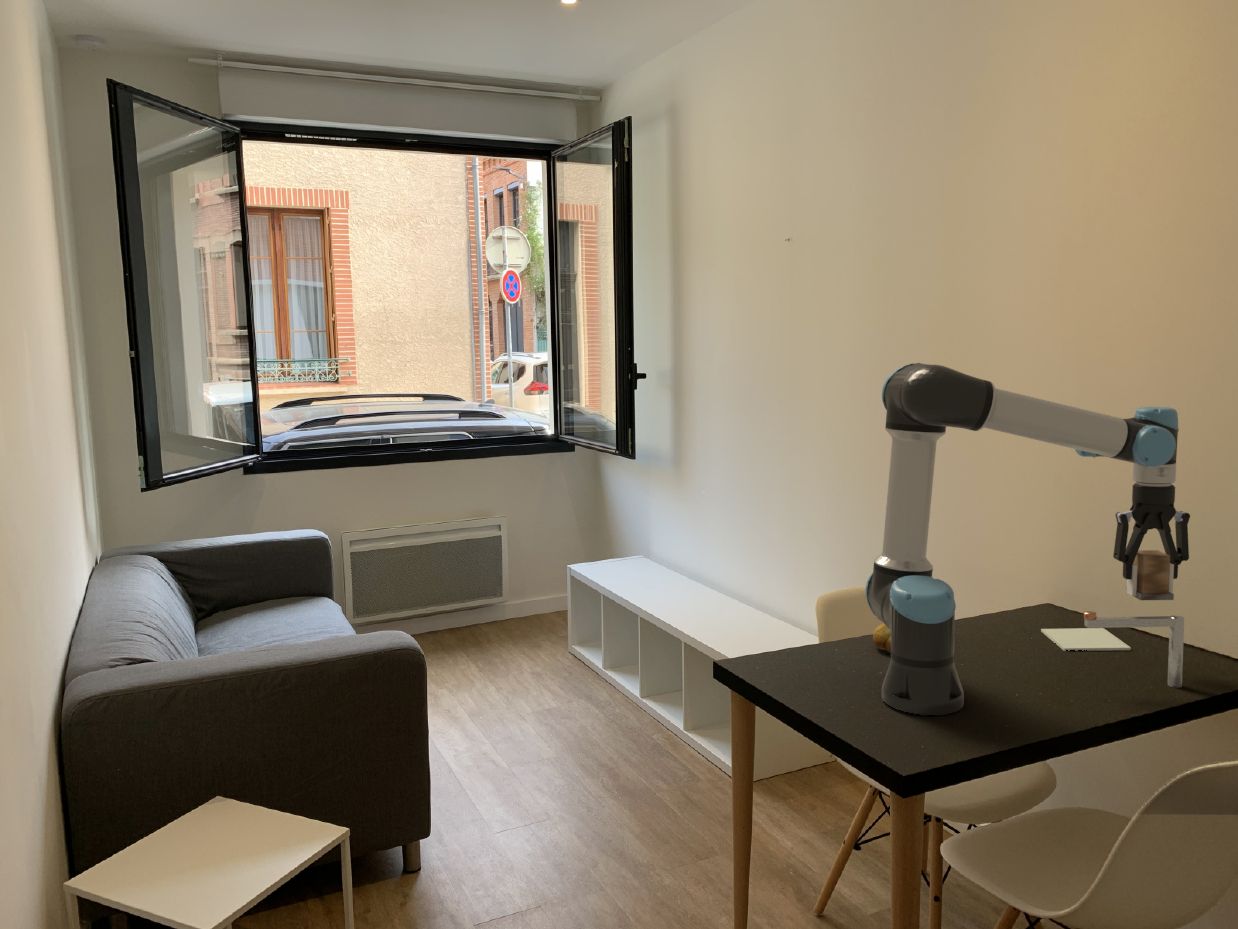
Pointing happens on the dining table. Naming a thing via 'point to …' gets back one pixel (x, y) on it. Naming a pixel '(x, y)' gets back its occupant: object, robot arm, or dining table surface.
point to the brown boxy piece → (1152, 575)
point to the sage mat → (1085, 639)
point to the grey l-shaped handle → (1155, 621)
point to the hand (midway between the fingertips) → (1149, 594)
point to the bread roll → (882, 637)
